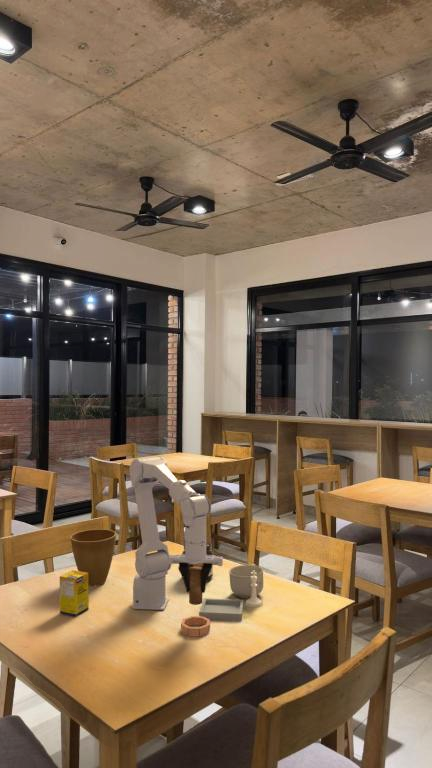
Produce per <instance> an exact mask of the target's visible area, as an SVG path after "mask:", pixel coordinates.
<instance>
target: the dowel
mask: <svg viewBox="0 0 432 768" xmlns="http://www.w3.org/2000/svg"><path fill="white" fill-rule="evenodd" d="M188 602H189V604H190V605H192V606H193V605H194V606H197V605H202V602H203V593H202V568H201V567H191V568H189V592H188Z"/></svg>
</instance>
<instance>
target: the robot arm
mask: <svg viewBox="0 0 432 768" xmlns="http://www.w3.org/2000/svg"><path fill="white" fill-rule="evenodd" d="M128 469H129V477H130V482H131V487H132V488H134V494H135V501H136V506H137V514H138V522H139V528H140V537H141V541H142V543H141V545H139V547H138V548H137V549H136V550H135V560H134V561H135V562H134V567H135V571H136V573H137V574H135V575H134V577H133V584H132V605H133V606H132V609H133V610H154V611H164V610H165V609H166V606H168V605H167V604H168V603H169V600H170V599H169V598H168V597H166V575H168V571H169V570H171V568H172V565H175V564H177V565H178V568H177V569H178V571H179V574H180V575H181V577H182V579H183V582H184V586H185V591H186V592H187V593H189V568H190V564H199V565H203V566H202V594H204V593H205V592H206V588H207V587H206V586H207V582H208V581H207V578H208V575H209V573H210V571H211V568H212V565H213V566H218V567H223V564H224V560H223V559H224V558H223V556H216V555H213V556H211V555H206V540H207V516H209V515H210V513H211V510H212V505H211V501H210V499H209V497H208V496H207V495H206V494H204V493H203V494H202V493H201V494H200V493H197V492H196V491H195V490H194V489H193V488H192V487H191V486H190V485H189V484H188V483H187V481H186V480H184V479H183V480H182V479H179V480H178V479H177V478H176V477H175V475H174V474H173V473H172V471H170V469H169V468H168V462H167V460H166V459H165V458H164V457H163V456H161V455H158V456H153V457H143V458H142V457H141V458H133V459H132V461H131V463H130V465H129V468H128ZM159 482H160V483H161V484H162V485H163V486H164V487H165V488H167V489H168V495H169V497H171V498H172V500H173V501H174V502H175V503H176V504H177V505H178V506H179V507H180V508H179V509H180V513H181V515H182V521H183V525H184V526H185V527H184V528H185V529H184V538H185V539H184V542H185V554H183V555H182V554H170V553H169V548H168V545H167V544H165V543H164V542H162V541H161V540H160V535H159V528H158V522H157V514H156V509H155V501H154V495H153V494H154V493H153V488H154V486H155V485H156V484H158V483H159Z"/></svg>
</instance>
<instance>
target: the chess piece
mask: <svg viewBox="0 0 432 768" xmlns="http://www.w3.org/2000/svg"><path fill="white" fill-rule="evenodd" d="M251 574H253V576H251V580H252V584H251V585H250V586H252V595H251V598H248V599H246V600H245V605H246V606H248V607H250V608H251V607H252V608H259V607H261V606H262V605H263V601H262V600H261V599H260V598H258V595H257V596H256V586H257V584H256V580H257V576H255V574H256V575H257V573H255V570H253V572H251Z"/></svg>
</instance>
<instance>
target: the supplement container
mask: <svg viewBox="0 0 432 768" xmlns="http://www.w3.org/2000/svg"><path fill="white" fill-rule="evenodd" d="M212 544H213V543H212V541H211V540H207V539H206V555H211V556H214V552H213V550H212ZM183 554H185V541H184V542H183V550H182V554H181V555H183ZM202 566H203V565H199V564H190V568H191V567H201V568H202ZM213 566H214V565H212V568H211V571H210V573H209V575H208V578H207V582H208V581H210V580H211V579H212V578H213V575H214V572H213V569H214V567H213Z"/></svg>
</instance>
